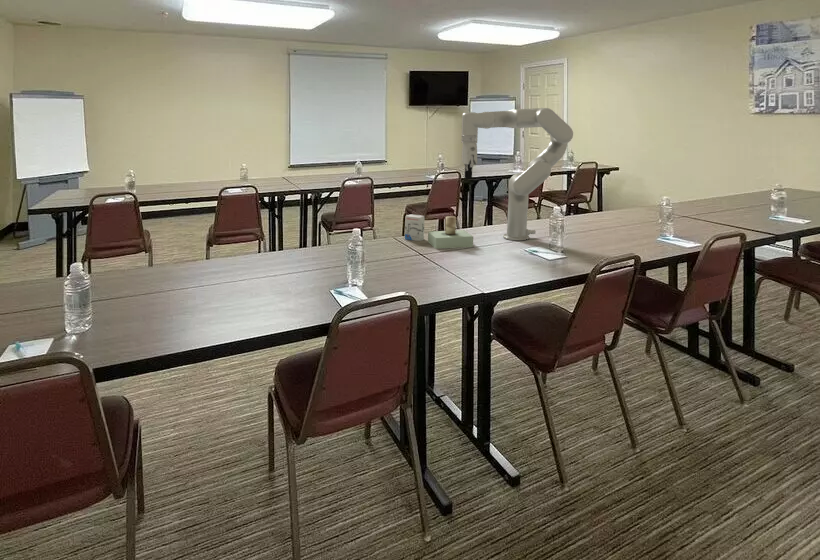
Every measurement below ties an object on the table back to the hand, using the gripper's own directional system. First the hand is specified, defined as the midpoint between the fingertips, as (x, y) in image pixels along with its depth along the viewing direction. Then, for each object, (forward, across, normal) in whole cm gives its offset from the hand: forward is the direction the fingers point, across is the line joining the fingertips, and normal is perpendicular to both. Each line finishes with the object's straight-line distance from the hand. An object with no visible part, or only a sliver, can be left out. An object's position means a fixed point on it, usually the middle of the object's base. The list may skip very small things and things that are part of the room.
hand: (468, 178), depth 263 cm
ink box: (+29, +2, +26) cm, 39 cm away
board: (+29, -12, +12) cm, 34 cm away
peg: (+28, -12, +12) cm, 33 cm away
